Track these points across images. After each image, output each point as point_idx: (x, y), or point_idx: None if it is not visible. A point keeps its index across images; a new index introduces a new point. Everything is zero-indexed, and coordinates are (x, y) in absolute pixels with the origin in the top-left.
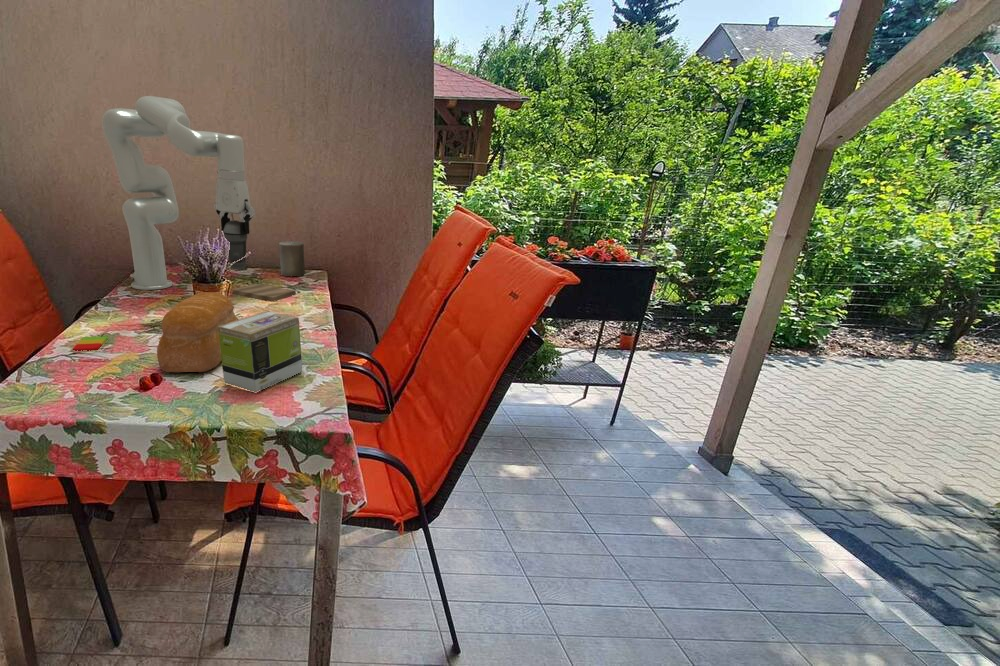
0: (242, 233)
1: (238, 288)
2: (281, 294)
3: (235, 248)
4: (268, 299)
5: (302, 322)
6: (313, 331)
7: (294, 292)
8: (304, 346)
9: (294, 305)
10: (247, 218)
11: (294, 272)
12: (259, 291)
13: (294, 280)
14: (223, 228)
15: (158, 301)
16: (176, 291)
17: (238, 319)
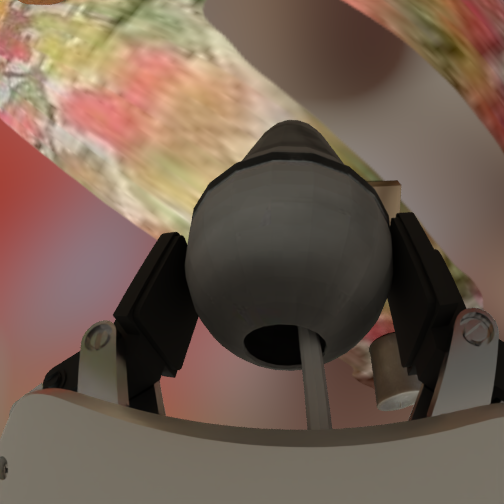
0: (163, 240)
1: (398, 204)
2: None
3: (246, 155)
4: None
5: (80, 138)
6: (38, 127)
7: None
8: (4, 83)
9: (194, 203)
10: (66, 362)
11: (378, 346)
12: None
13: None
14: (399, 230)
15: (463, 30)
16: (500, 124)
17: (22, 1)
